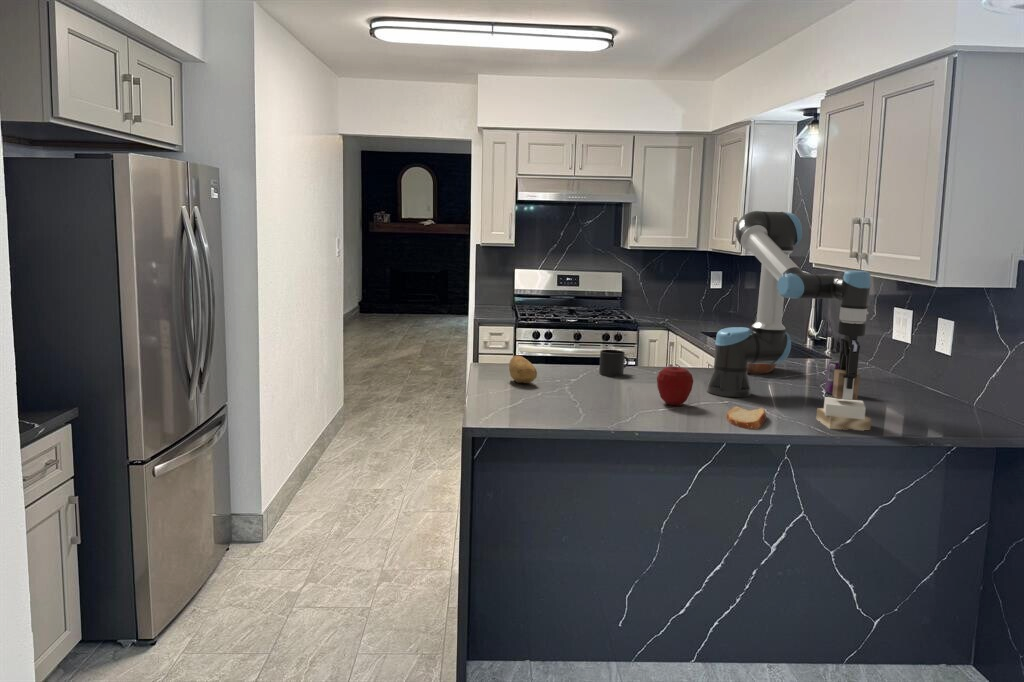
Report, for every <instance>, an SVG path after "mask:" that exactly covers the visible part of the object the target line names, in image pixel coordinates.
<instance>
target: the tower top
mask: <svg viewBox="0 0 1024 682" xmlns="http://www.w3.org/2000/svg"><path fill="white" fill-rule="evenodd" d="M823 408H824V412H825V415H826V416H835V417H845V418H854V419H863V420H865V416H866V409H867V408H866V405H865V402H864V401H863V400H858V399H857V400H847V399H836V398H835V397H827V396H825V397H824V402H823Z"/></svg>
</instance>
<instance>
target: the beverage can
mask: <svg viewBox="0 0 1024 682" xmlns="http://www.w3.org/2000/svg"><path fill="white" fill-rule="evenodd" d="M828 361H829V362H828V364H827V366H826V377H825V385H824V392H826V393H828V394H829V395H832V392H833V382H834V372H835V369H836V370H839V369H838V366H839V359H829V360H828Z"/></svg>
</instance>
